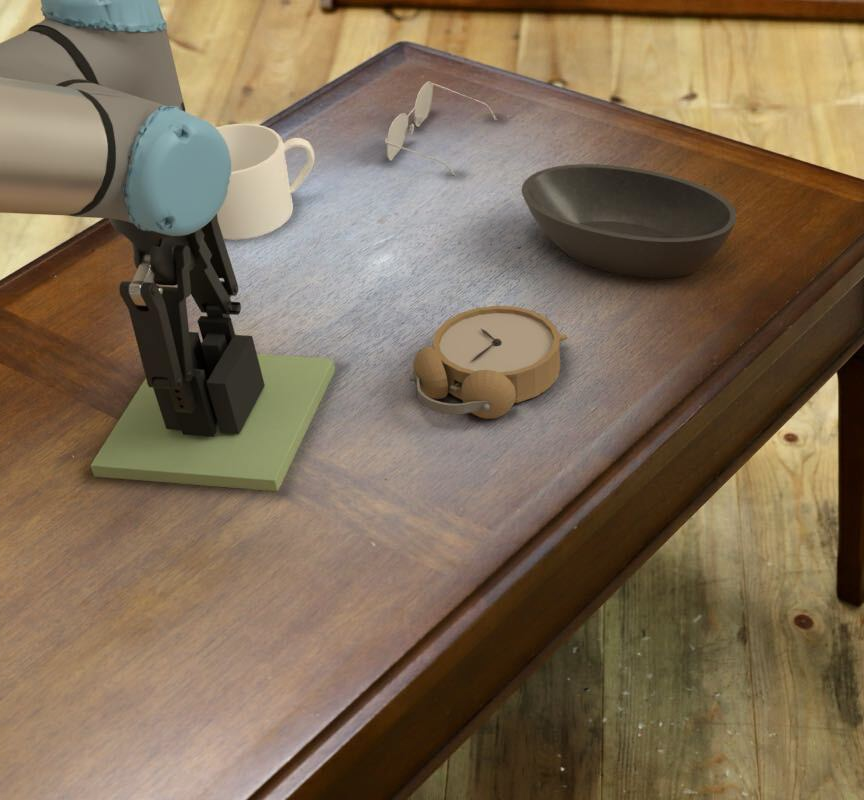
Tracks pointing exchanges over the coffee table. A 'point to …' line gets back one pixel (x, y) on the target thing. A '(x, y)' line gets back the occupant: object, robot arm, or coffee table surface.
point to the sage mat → (221, 434)
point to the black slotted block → (221, 380)
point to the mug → (258, 181)
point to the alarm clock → (488, 361)
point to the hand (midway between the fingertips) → (215, 404)
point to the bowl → (629, 218)
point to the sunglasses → (420, 114)
